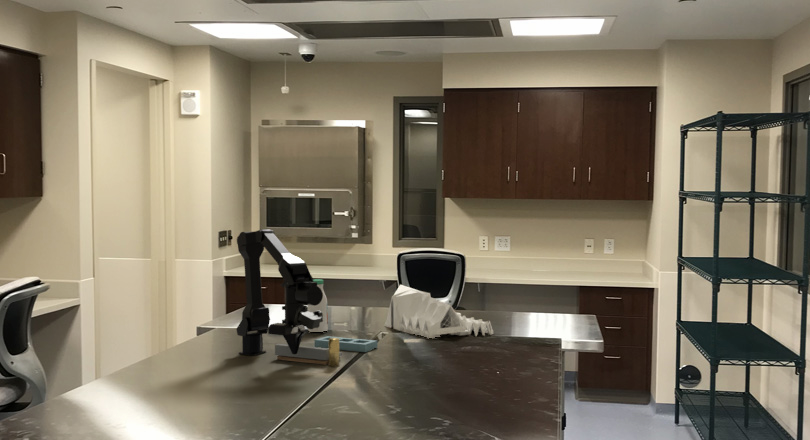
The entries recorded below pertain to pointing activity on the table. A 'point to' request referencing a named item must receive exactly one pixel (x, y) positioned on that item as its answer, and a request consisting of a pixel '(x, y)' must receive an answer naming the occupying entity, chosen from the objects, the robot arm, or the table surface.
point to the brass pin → (334, 352)
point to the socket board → (348, 344)
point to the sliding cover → (303, 352)
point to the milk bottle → (320, 309)
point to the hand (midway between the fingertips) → (294, 354)
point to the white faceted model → (429, 316)
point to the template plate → (303, 360)
